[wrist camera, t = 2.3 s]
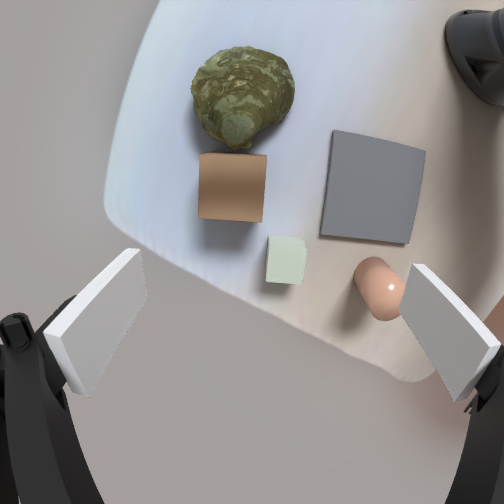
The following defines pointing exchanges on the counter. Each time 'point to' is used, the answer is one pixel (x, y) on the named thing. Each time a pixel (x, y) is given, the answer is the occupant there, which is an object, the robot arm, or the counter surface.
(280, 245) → the sage block
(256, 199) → the walnut cube
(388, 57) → the counter surface
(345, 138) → the coaster
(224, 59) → the seashell
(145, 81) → the counter surface
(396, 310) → the pink glossy pebble
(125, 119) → the counter surface
